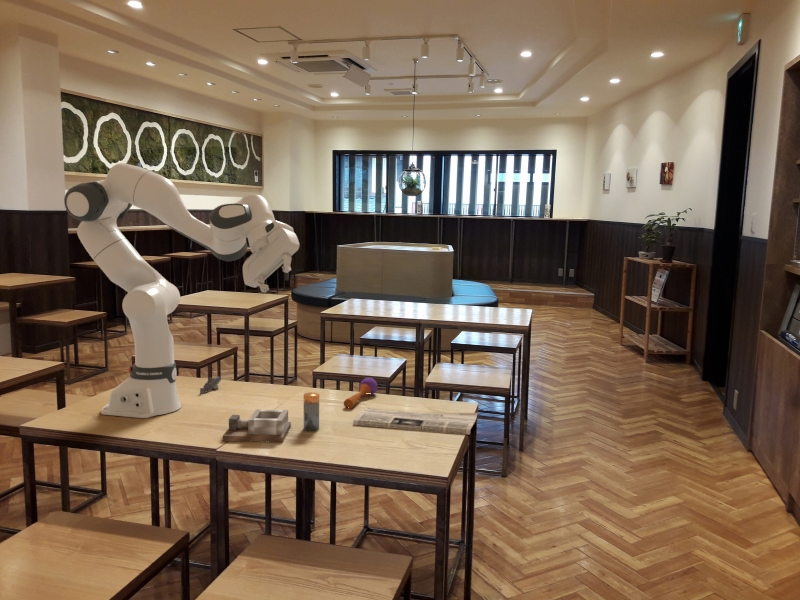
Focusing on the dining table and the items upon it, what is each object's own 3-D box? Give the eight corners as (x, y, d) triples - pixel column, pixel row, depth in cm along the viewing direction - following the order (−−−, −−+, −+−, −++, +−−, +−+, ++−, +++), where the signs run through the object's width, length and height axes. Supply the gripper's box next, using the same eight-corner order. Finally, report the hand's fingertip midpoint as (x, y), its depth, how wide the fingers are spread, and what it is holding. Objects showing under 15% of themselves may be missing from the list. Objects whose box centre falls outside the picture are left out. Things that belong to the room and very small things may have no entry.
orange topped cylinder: (302, 431, 169) (302, 396, 167) (304, 426, 173) (304, 392, 172) (318, 431, 169) (318, 397, 167) (320, 426, 173) (320, 392, 172)
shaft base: (222, 441, 160) (222, 421, 159) (234, 425, 172) (234, 407, 171) (282, 442, 160) (282, 422, 159) (290, 427, 172) (290, 408, 171)
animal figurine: (207, 398, 202) (205, 385, 200) (195, 397, 203) (193, 383, 201) (226, 383, 213) (224, 370, 211) (215, 382, 214) (213, 369, 212)
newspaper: (352, 426, 175) (353, 415, 174) (363, 413, 187) (363, 402, 186) (475, 437, 169) (475, 424, 168) (477, 422, 181) (477, 411, 180)
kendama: (338, 395, 191) (362, 376, 209) (341, 413, 192) (365, 392, 210) (355, 394, 189) (378, 374, 207) (358, 412, 189) (381, 391, 208)
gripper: (233, 260, 171) (243, 299, 165) (279, 216, 163) (291, 256, 156) (251, 266, 176) (261, 304, 169) (296, 224, 168) (309, 262, 161)
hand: (276, 281), depth 163 cm, fingers open, 8 cm apart
